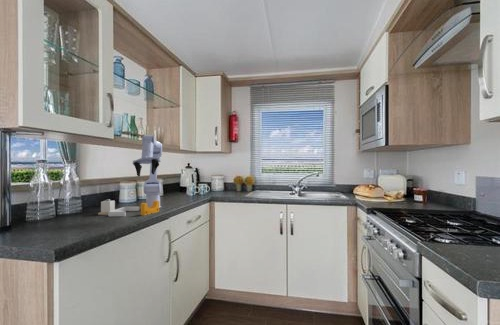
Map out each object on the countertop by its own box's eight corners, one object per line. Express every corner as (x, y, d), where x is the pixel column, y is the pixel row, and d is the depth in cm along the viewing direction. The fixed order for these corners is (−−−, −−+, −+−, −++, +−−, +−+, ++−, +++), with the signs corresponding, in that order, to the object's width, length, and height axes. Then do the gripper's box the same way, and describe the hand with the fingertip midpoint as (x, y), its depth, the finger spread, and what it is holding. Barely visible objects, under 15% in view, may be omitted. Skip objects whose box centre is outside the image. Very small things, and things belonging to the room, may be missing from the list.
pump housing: (105, 212, 144) (105, 198, 145) (117, 212, 144) (117, 198, 145) (98, 214, 137) (98, 200, 138) (110, 214, 137) (110, 200, 138)
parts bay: (124, 210, 150) (124, 206, 150) (139, 210, 150) (139, 206, 150) (108, 216, 132) (108, 211, 132) (125, 216, 132) (125, 211, 132)
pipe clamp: (153, 211, 147) (153, 200, 147) (159, 211, 146) (159, 200, 146) (138, 215, 136) (138, 203, 136) (144, 215, 135) (144, 203, 135)
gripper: (131, 151, 135) (128, 172, 128) (158, 147, 135) (156, 169, 128) (136, 157, 141) (134, 179, 134) (162, 154, 141) (161, 175, 134)
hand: (145, 174), depth 131 cm, fingers open, 7 cm apart
